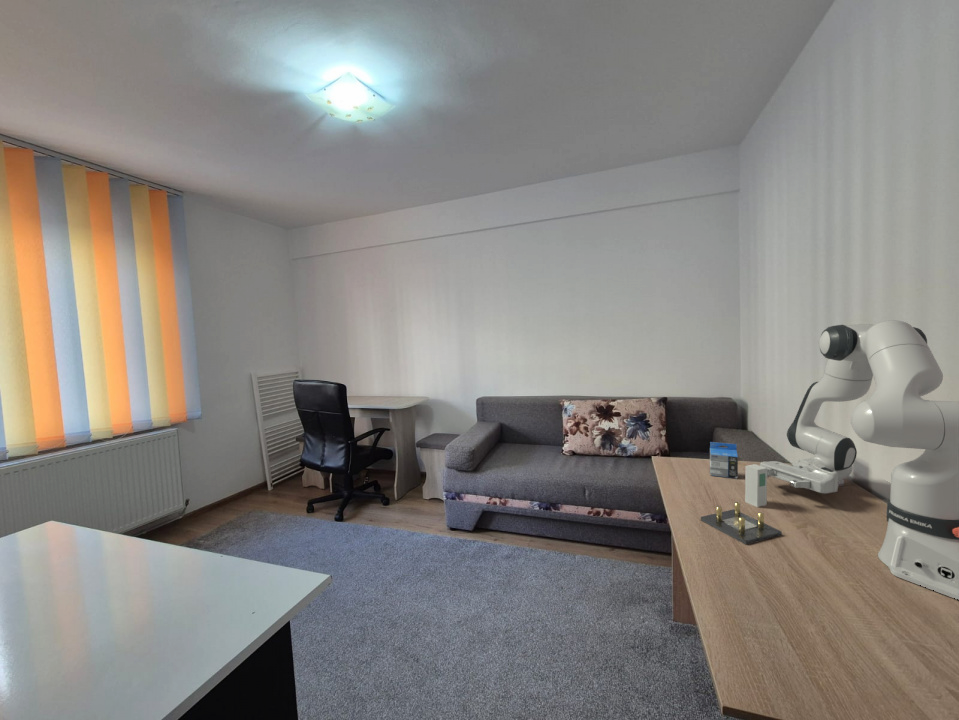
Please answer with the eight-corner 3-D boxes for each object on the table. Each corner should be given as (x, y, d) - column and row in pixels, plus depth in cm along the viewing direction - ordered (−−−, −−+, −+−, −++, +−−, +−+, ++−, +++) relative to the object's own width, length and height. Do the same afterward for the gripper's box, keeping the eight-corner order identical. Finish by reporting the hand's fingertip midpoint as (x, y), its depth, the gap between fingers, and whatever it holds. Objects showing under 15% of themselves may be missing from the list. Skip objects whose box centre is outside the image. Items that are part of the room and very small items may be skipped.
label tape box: (710, 475, 146) (710, 444, 145) (709, 472, 150) (709, 441, 149) (737, 479, 142) (738, 446, 141) (736, 475, 146) (736, 443, 145)
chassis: (781, 535, 104) (782, 517, 104) (745, 544, 100) (745, 526, 100) (734, 512, 118) (734, 496, 117) (700, 520, 114) (700, 503, 113)
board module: (766, 505, 121) (767, 468, 120) (757, 507, 120) (757, 470, 119) (754, 499, 125) (754, 464, 124) (744, 501, 124) (745, 465, 123)
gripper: (776, 454, 138) (747, 460, 135) (843, 474, 119) (812, 480, 115) (775, 471, 139) (747, 477, 135) (843, 493, 119) (812, 501, 115)
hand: (777, 479), depth 125 cm, fingers open, 8 cm apart
